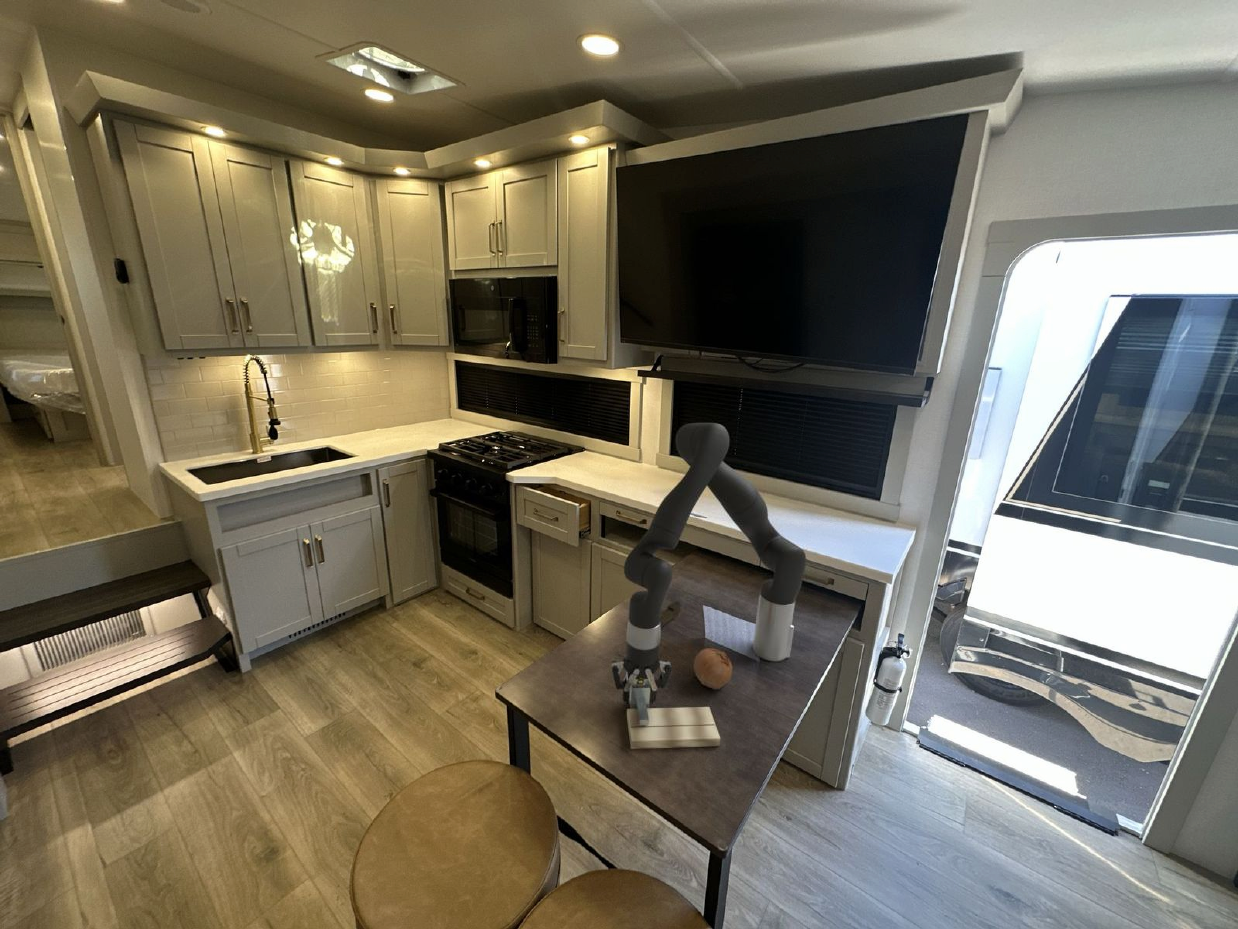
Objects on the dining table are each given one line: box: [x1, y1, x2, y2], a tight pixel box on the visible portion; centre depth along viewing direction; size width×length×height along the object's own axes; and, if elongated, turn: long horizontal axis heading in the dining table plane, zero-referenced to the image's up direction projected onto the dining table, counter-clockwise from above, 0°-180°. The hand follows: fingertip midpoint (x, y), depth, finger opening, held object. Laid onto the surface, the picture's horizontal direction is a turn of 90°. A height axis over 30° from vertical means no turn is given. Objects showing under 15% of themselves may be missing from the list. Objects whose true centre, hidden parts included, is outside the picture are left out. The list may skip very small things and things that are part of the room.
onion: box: [693, 647, 733, 691], centre depth 122 cm, size 10×9×10 cm
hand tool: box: [660, 600, 682, 628], centre depth 147 cm, size 19×4×5 cm, turn 137°
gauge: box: [628, 679, 650, 725], centre depth 110 cm, size 4×10×8 cm, turn 5°
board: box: [626, 706, 721, 750], centre depth 108 cm, size 19×9×2 cm, turn 95°
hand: (638, 701), depth 114 cm, fingers open, 5 cm apart
